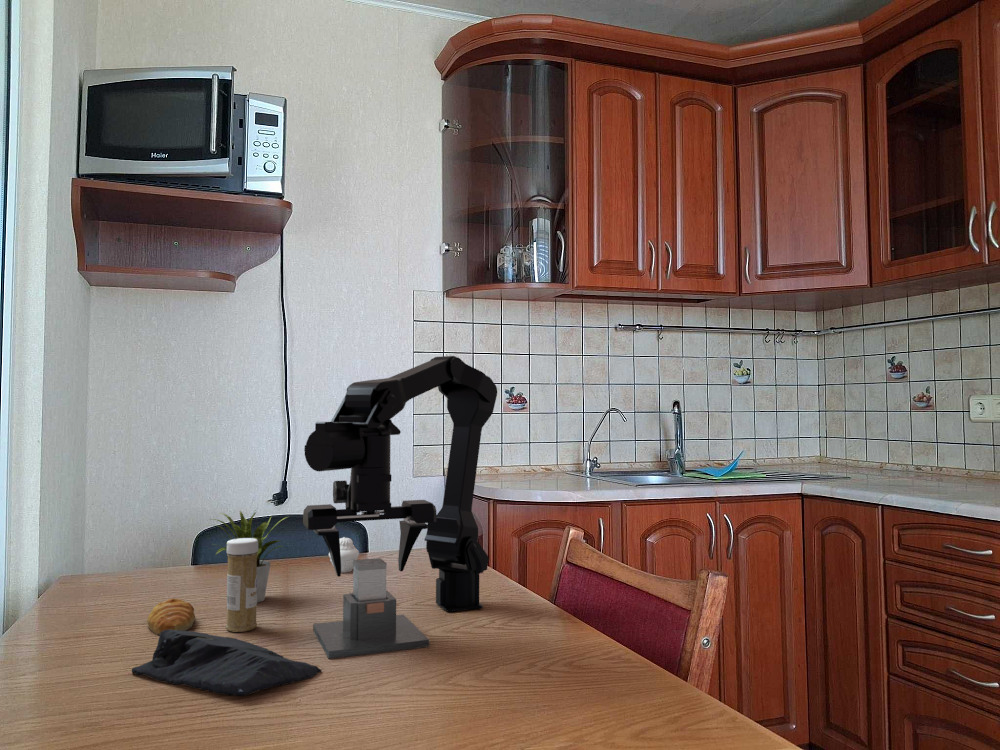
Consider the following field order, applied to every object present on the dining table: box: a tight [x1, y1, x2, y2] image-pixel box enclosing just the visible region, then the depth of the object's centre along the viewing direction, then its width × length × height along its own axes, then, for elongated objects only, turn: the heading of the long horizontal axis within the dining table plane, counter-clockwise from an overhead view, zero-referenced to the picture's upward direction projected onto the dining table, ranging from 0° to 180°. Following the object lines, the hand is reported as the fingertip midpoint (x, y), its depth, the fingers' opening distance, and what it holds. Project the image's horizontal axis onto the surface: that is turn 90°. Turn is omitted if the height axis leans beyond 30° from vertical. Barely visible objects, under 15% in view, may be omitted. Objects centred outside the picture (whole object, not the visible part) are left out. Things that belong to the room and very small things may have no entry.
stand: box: [312, 590, 430, 660], centre depth 111 cm, size 14×14×6 cm
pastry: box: [146, 598, 196, 636], centre depth 116 cm, size 9×7×4 cm
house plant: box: [210, 509, 291, 603], centre depth 133 cm, size 14×14×16 cm
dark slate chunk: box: [131, 630, 322, 697], centre depth 97 cm, size 15×22×5 cm
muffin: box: [328, 536, 360, 574], centre depth 156 cm, size 6×6×7 cm
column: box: [352, 557, 387, 602], centre depth 111 cm, size 4×4×10 cm
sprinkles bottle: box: [225, 537, 258, 633], centre depth 116 cm, size 5×5×14 cm
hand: (370, 573), depth 111 cm, fingers open, 9 cm apart
